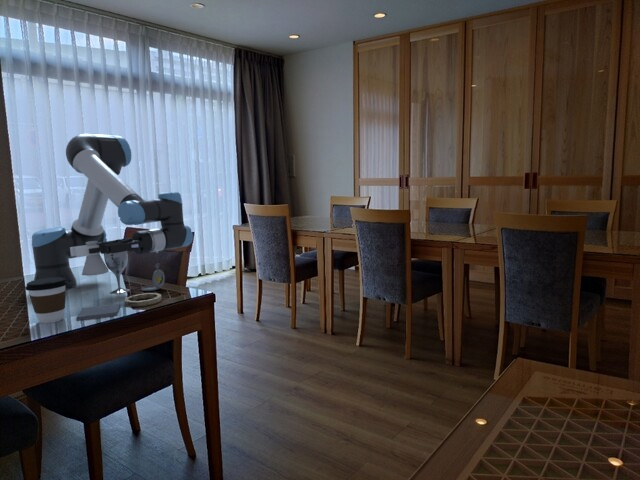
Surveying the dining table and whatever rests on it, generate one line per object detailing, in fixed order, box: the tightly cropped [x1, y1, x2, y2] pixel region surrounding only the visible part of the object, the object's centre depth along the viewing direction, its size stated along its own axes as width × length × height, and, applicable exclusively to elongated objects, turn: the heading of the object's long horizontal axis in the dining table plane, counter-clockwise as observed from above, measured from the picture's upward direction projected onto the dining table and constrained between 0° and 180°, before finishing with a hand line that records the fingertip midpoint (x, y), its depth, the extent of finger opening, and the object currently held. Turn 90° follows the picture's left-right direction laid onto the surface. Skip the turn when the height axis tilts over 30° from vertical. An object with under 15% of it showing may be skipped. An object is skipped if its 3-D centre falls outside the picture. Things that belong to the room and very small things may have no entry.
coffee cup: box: [24, 277, 68, 324], centre depth 140 cm, size 11×11×12 cm
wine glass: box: [103, 251, 131, 295], centre depth 173 cm, size 8×8×15 cm
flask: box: [81, 241, 110, 277], centre depth 143 cm, size 7×7×10 cm
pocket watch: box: [141, 262, 166, 292], centre depth 173 cm, size 8×8×10 cm
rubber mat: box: [76, 302, 121, 321], centre depth 146 cm, size 11×11×1 cm
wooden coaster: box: [123, 292, 162, 308], centre depth 157 cm, size 11×11×2 cm
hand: (73, 252), depth 139 cm, fingers closed on flask, 3 cm apart
